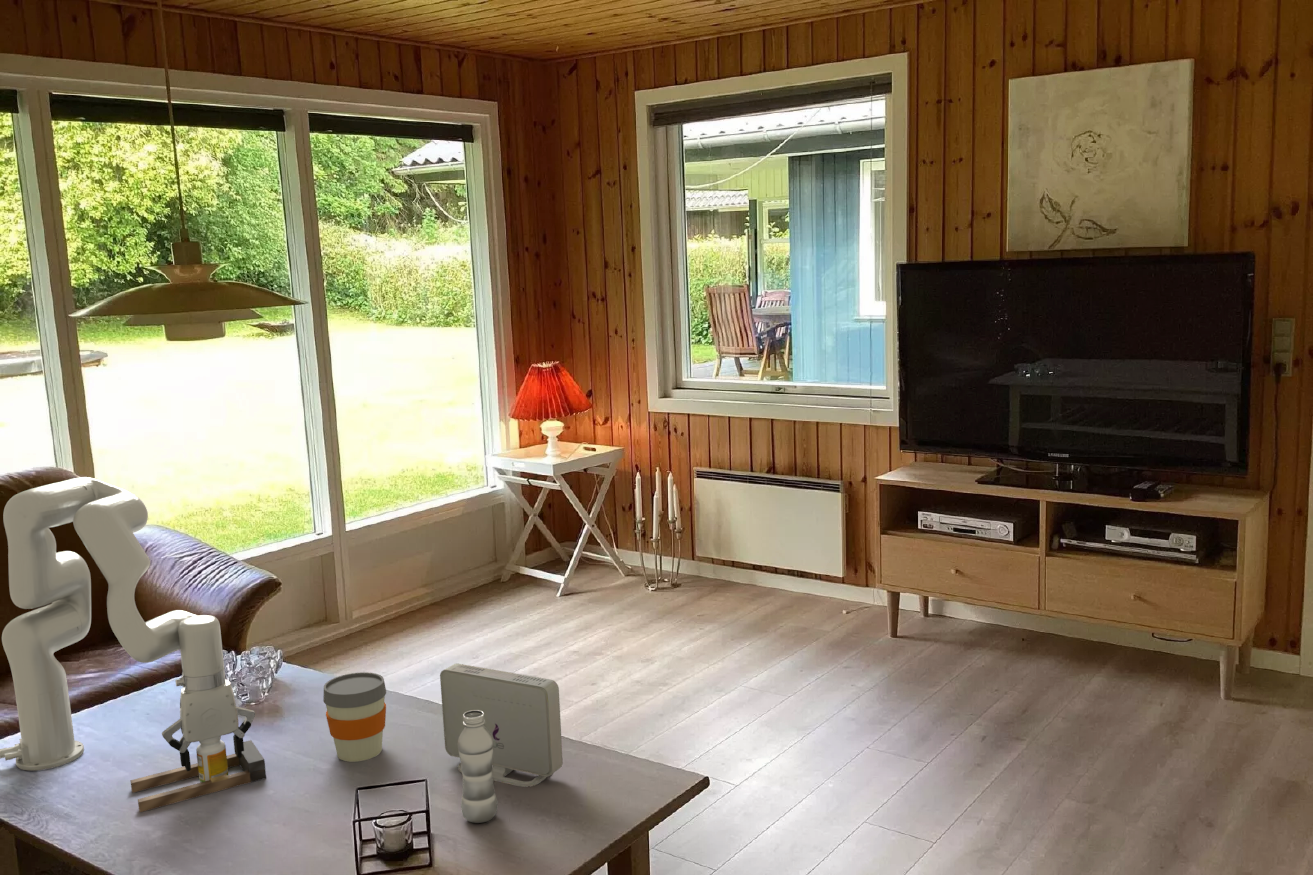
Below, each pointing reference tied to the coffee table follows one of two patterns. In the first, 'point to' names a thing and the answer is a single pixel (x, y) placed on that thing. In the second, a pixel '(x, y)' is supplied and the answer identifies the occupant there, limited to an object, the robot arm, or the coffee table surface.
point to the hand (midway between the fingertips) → (213, 762)
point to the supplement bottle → (211, 758)
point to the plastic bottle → (477, 769)
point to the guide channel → (249, 763)
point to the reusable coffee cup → (356, 714)
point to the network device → (506, 718)
